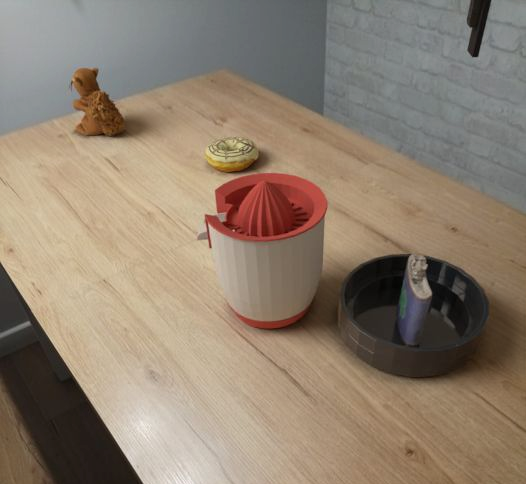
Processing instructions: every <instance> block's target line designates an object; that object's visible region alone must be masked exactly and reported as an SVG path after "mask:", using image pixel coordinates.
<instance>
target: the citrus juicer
mask: <svg viewBox="0 0 526 484" xmlns="http://www.w3.org/2000/svg"><path fill="white" fill-rule="evenodd" d="M214 195H215V205H216V213H214V214H207V213H206V214H205V213H204V220H203V223H202V225H201V228H200V229H199V231H198V233H197V236H196V241H205V240H207V242H208V248H209V250H210V249H211V252H212V258H213V265H214V271H215V273H216V274H215V275H216V279H217V282H218V284H219V287H220V289H221V292H222V294H223V296H224V298H225V300H226V302H227V305H228V306H229V308H230V309H231V310H232V312H233V313H234V314H235V316H236V317H237V318H238V319H239V320H240V321H242V322H244V323H245V324H247V325H249V326H252V327H255V328H258V329H259V328H260V329H278V328H279V329H280V328H283V327H286V326H289V325H292V324H294V323H296V322H297V321H299V320H300V319H302V317H303V316H305V314H306V313H307V312H308V310H309V308H310V307H311V305H312V303H313V302H314V299H315V296H316V293H317V290H318V288H319V284H320V281H321V276H322V273H323V264H324V247H325V246H324V244H325V242H324V241H325V221H326V220H325V219H326V217H325V216H326V213H327V211H328V199H327V197H326V194H325V193H324V191H323V190H322V189H321V188H320V187H319V186H317V184H315V183H314V182H312V181H310V180H308V179H306V178H304V177H300V176H297V175H293V174H290V173H289V174H288V173H282V172H281V173H279V172H261V173H252V174H248V175H243V176H239V177H237V178H233V179H231V180H229V181H226V182H224V183H223V184H221V185H220V186H218V187H216V189H214Z"/></svg>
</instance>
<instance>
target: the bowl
mask: <svg viewBox="0 0 526 484" xmlns="http://www.w3.org/2000/svg"><path fill="white" fill-rule="evenodd" d="M412 254H413V253H393V254H387V255H382V256H377V257H374V258H372V259H371V258H370V259H369V260H367V261H365V262H362V263H360V264H359V265H358V266H356V267H355V268H354V269H351V270H350V272H349V273H348V274H347V276H346V277H345V278H344V280H343V281H342V283H341V286H340V291H339V296H338V297H339V299H338V310H337V325H338V333H339V334H340V336H341V339H342V340H343V343H344V344H345V346H346V347H347V348H348V349H349V350H350V351H351V352H352V353H353V355H355V356H356V357H357V358H358V359H360V360H362V361H363V362H365V363H366V364H368V365H370V366H371V367H373V368H376V369H378V370H381V371H382V372H386V373H389V374H392V375H397V376H403V377H408V378H409V377H410V378H417V377H418V378H419V377H420V378H421V377H422V378H423V377H434V376H439V375H443V374H446V373H450V372H453V371H454V370H456V369H458V368H459V367H461V366H464V365H465V364H466V362H468V361H469V360H470V358H472V357H473V355H475V353H476V351H477V348H478V347H479V344H480V341H481V339H482V336H483V333H484V330H485V329H486V326H487V322H488V321H489V317H490V301H489V299H488V296H487V294H486V292H485V290H484V288H483V287H482V286H481V284H480V283H479V282H478V281H477V280H476V279H475V277H473V276H472V275H471V274H470V273H468V272H467V271H465V270H463V268H461V267H459V266H457V265H455V264H452V263H450V262H448V261H446V260H444V259H440V258H436V257H433V256H429V255H423V254H422V255H423V256H424V257H425V258H426V264H427V265H428V266H427V269H426V277H427V281H428V284H429V286H430V289H431V290H432V299H431V302H430V305H429V310H428V313H427V317H426V321H425V324H424V329H423V333H422V337H421V342H420V344H419V345H418V347H413V346H411V345H410V346H411V347H409V346H406V345H405V344H404V343H403V341H402V340H401V337H400V334H399V330H398V325H397V323H396V309H397V307H398V302H399V299H400V295H401V290H402V286H403V280H404V276H405V271H406V265H407V261H408V258H409V256H410V255H412Z"/></svg>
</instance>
